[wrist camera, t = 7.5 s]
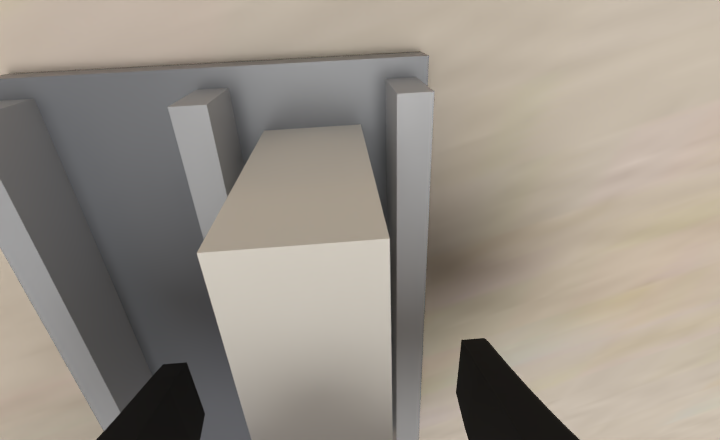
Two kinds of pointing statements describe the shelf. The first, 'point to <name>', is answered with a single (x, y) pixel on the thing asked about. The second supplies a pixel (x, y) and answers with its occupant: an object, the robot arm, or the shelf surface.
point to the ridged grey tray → (191, 208)
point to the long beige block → (305, 288)
